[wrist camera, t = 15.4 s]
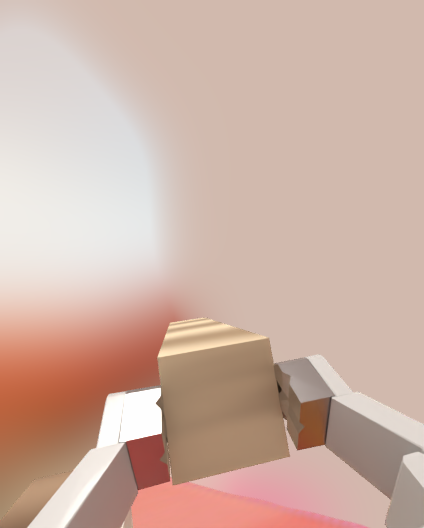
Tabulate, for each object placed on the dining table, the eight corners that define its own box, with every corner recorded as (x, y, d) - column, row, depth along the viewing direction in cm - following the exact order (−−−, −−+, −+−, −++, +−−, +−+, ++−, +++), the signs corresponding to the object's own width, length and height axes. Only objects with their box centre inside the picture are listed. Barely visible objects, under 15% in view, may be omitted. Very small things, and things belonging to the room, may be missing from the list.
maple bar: (174, 358, 27) (170, 323, 28) (209, 352, 28) (204, 317, 28) (172, 485, 8) (157, 357, 8) (289, 456, 8) (268, 337, 9)
